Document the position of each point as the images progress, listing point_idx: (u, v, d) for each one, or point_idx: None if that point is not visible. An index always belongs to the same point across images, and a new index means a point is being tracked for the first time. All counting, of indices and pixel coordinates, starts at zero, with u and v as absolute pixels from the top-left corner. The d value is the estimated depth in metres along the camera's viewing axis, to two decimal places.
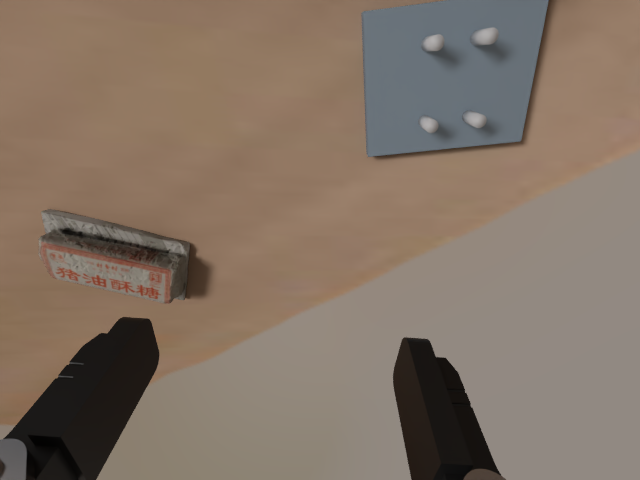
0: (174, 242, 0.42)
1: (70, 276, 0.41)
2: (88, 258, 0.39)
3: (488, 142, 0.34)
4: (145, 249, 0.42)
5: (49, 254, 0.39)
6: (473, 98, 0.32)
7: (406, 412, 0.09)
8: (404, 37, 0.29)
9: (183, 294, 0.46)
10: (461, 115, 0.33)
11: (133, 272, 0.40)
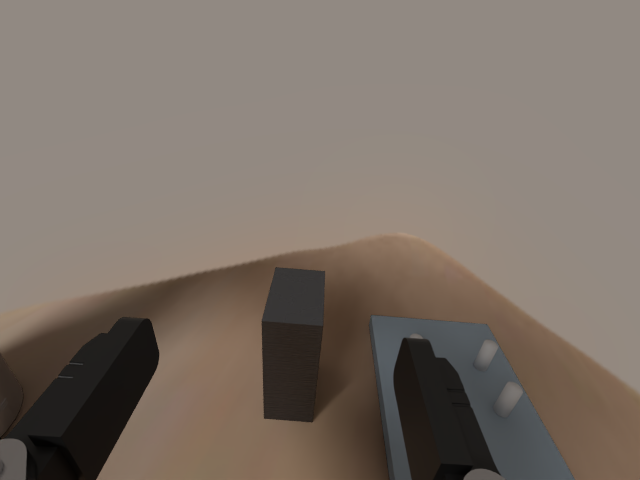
0: None
1: None
2: None
3: (498, 348, 0.33)
4: None
5: None
6: (461, 361, 0.31)
7: (406, 412, 0.09)
8: None
9: None
10: (481, 372, 0.30)
11: None
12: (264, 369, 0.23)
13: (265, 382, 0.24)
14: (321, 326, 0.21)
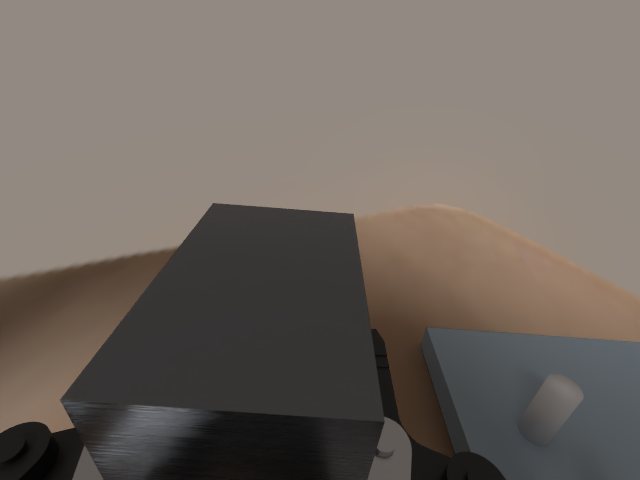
0: None
1: None
2: None
3: None
4: None
5: None
6: None
7: None
8: None
9: None
10: None
11: None
12: None
13: None
14: (375, 423, 0.04)
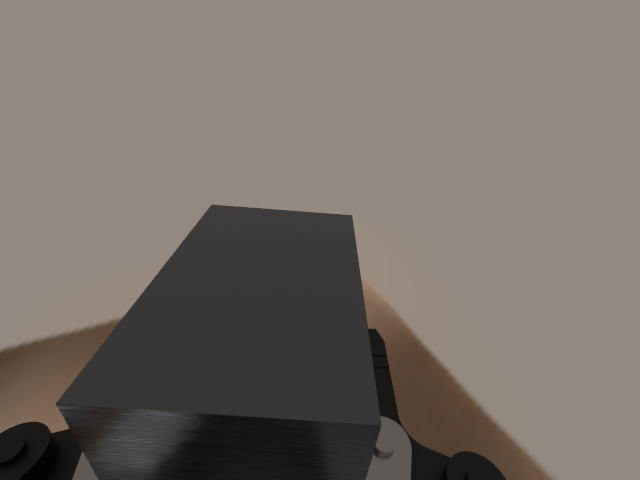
0: None
1: None
2: None
3: None
4: None
5: None
6: None
7: None
8: None
9: None
10: None
11: None
12: None
13: None
14: (372, 427, 0.04)
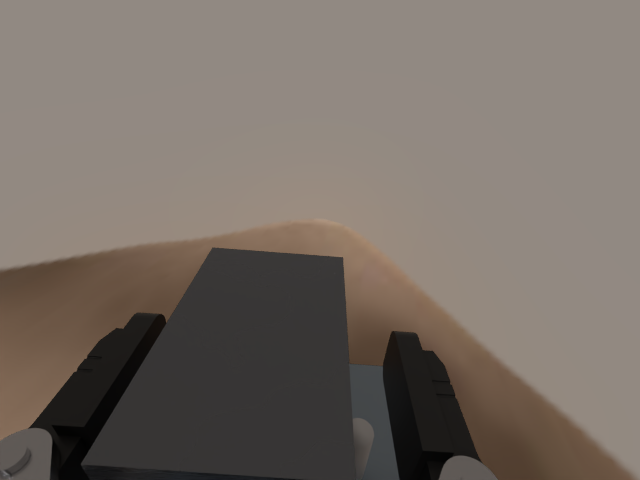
0: None
1: None
2: None
3: None
4: None
5: None
6: None
7: (393, 404, 0.09)
8: None
9: None
10: None
11: None
12: None
13: None
14: None
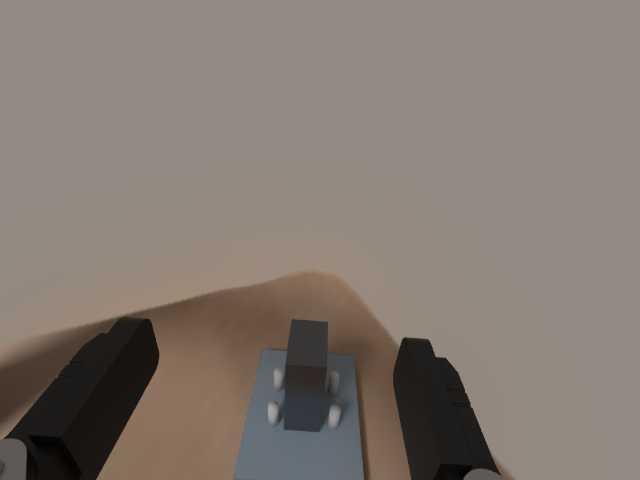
0: None
1: None
2: None
3: (353, 375, 0.43)
4: None
5: None
6: None
7: (406, 412, 0.09)
8: (263, 440, 0.35)
9: None
10: (330, 395, 0.40)
11: None
12: (285, 395, 0.33)
13: (285, 404, 0.34)
14: (326, 367, 0.31)
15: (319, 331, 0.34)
